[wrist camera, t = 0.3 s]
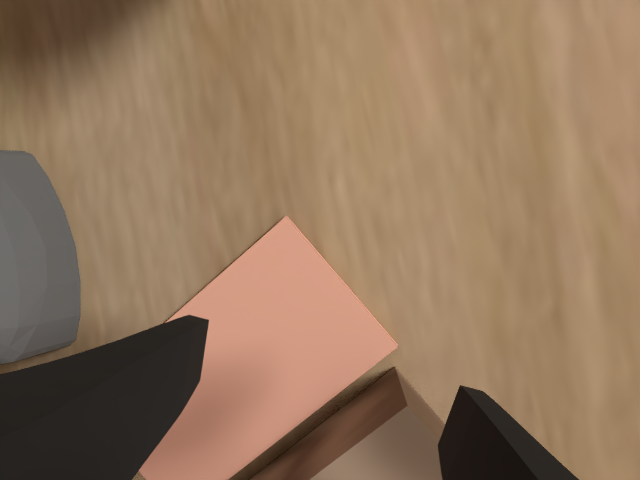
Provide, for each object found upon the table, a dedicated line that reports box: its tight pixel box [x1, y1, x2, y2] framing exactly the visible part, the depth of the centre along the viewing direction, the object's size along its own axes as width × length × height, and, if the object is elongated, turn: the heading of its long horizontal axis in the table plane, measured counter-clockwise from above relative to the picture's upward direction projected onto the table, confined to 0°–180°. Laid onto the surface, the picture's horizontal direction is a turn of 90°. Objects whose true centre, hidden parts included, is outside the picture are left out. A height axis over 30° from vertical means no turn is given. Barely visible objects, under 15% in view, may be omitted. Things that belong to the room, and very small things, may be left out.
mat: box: [139, 216, 398, 480], centre depth 20 cm, size 18×10×1 cm, turn 131°
